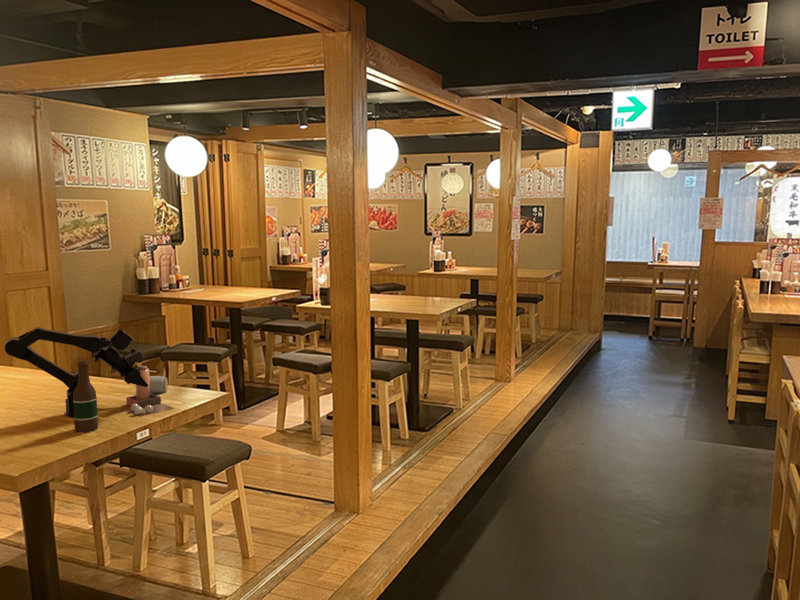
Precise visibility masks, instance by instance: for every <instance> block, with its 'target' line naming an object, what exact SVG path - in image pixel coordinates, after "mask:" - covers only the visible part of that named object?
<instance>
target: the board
mask: <svg viewBox="0 0 800 600" xmlns="http://www.w3.org/2000/svg"><path fill="white" fill-rule="evenodd" d="M152 407H153V411H152V412H151V413H146V412H145V410H144V409H145V407H144V408H142V409H143V412H142V413H141V414H139V415H137V414H135V413H134V411H132V410H131V409H130V410H127V411H126V412H127V413H130V414H131V415H134V416H137V417H139V418H142V417H145V416H149V415H154V414H157V413H158V414H159V413H162V412H166V411H170V410H174V409H176V408H175V407H172V406H170V405H166V404H165V403H163V402H161V404H157V405H153V406H152Z"/></svg>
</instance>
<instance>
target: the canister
mask: <svg viewBox="0 0 800 600" xmlns="http://www.w3.org/2000/svg"><path fill="white" fill-rule="evenodd" d="M137 368H138V369H139V370H140V371H141V372H140V376H141V377H142V378H143V379H144V380H145V382H146V383H147V384H148V386H147V387H143V386H139V385H135V396H136V400H137V401H142V400H147V399H150V377H149V376H150V368H148V366H147V365H139V366H138V365H137Z"/></svg>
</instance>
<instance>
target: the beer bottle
mask: <svg viewBox="0 0 800 600" xmlns="http://www.w3.org/2000/svg"><path fill="white" fill-rule="evenodd" d="M89 365H90V363H89V361H87V360H80V361H77V365H76V366H77V371H78V385H77V386H76V388H75V390H74V393H73V407H74V417H73V420H74V421H73V422H74V431H75V433H79V432H86V433H91V432H90V431H92V432H95V431H97V430H98V428H99V420H98V399H97V392H96V389H95V387H94V386H93V385H92V383H91V381H90V379H91V378H90V372H89ZM96 429H97V430H96Z"/></svg>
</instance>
